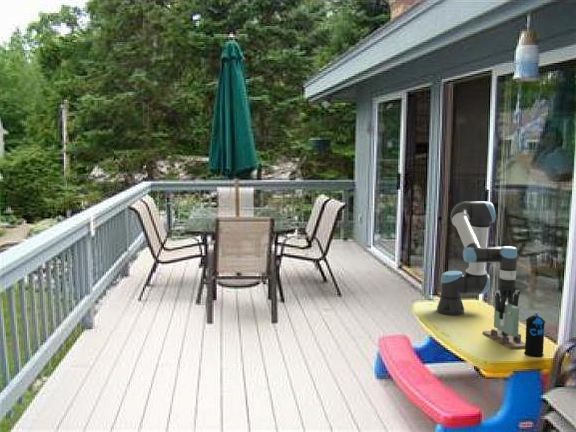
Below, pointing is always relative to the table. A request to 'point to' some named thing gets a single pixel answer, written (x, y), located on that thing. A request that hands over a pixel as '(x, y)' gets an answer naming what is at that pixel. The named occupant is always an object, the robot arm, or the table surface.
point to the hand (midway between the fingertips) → (505, 325)
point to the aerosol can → (534, 336)
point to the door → (508, 320)
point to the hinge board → (505, 339)
